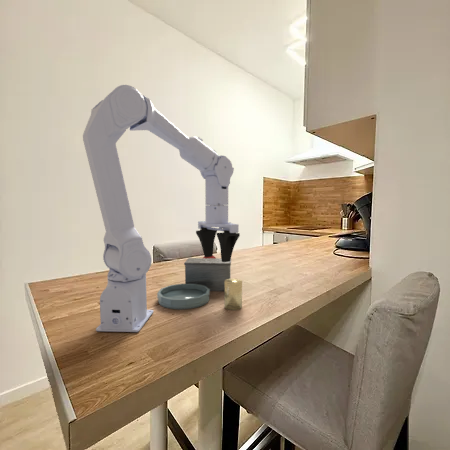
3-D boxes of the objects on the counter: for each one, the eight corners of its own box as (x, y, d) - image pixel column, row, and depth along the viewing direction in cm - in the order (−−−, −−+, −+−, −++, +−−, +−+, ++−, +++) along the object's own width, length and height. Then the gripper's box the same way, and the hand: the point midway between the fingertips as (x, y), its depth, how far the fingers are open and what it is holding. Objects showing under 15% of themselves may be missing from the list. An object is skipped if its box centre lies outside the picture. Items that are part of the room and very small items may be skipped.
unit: (230, 291, 73) (230, 263, 73) (184, 290, 74) (184, 262, 73) (231, 284, 80) (231, 258, 79) (188, 283, 80) (188, 258, 80)
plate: (206, 309, 61) (206, 300, 60) (151, 309, 61) (151, 299, 61) (211, 292, 73) (211, 283, 73) (165, 291, 73) (165, 283, 73)
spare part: (242, 310, 60) (242, 283, 60) (224, 310, 61) (224, 283, 60) (241, 303, 64) (242, 278, 64) (224, 303, 65) (224, 278, 64)
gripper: (248, 205, 65) (247, 261, 67) (213, 205, 77) (213, 253, 78) (224, 205, 61) (224, 265, 62) (191, 205, 73) (191, 255, 74)
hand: (216, 258), depth 70 cm, fingers open, 7 cm apart
